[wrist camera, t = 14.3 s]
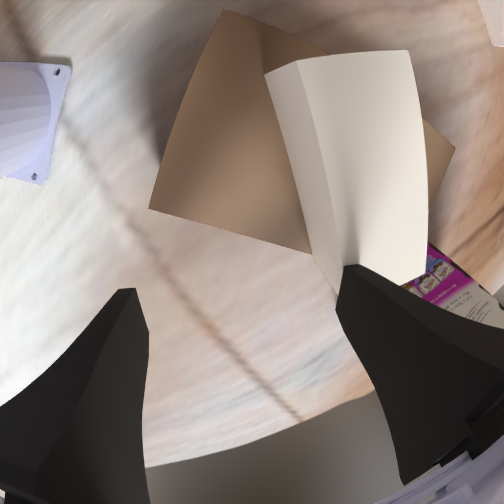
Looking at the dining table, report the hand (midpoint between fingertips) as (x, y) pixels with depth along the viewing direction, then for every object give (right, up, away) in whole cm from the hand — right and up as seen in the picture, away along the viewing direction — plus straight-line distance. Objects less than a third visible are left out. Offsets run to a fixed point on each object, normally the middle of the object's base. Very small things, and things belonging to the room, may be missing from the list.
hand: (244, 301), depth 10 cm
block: (+4, +6, +2) cm, 7 cm away
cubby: (+3, +8, +8) cm, 12 cm away
